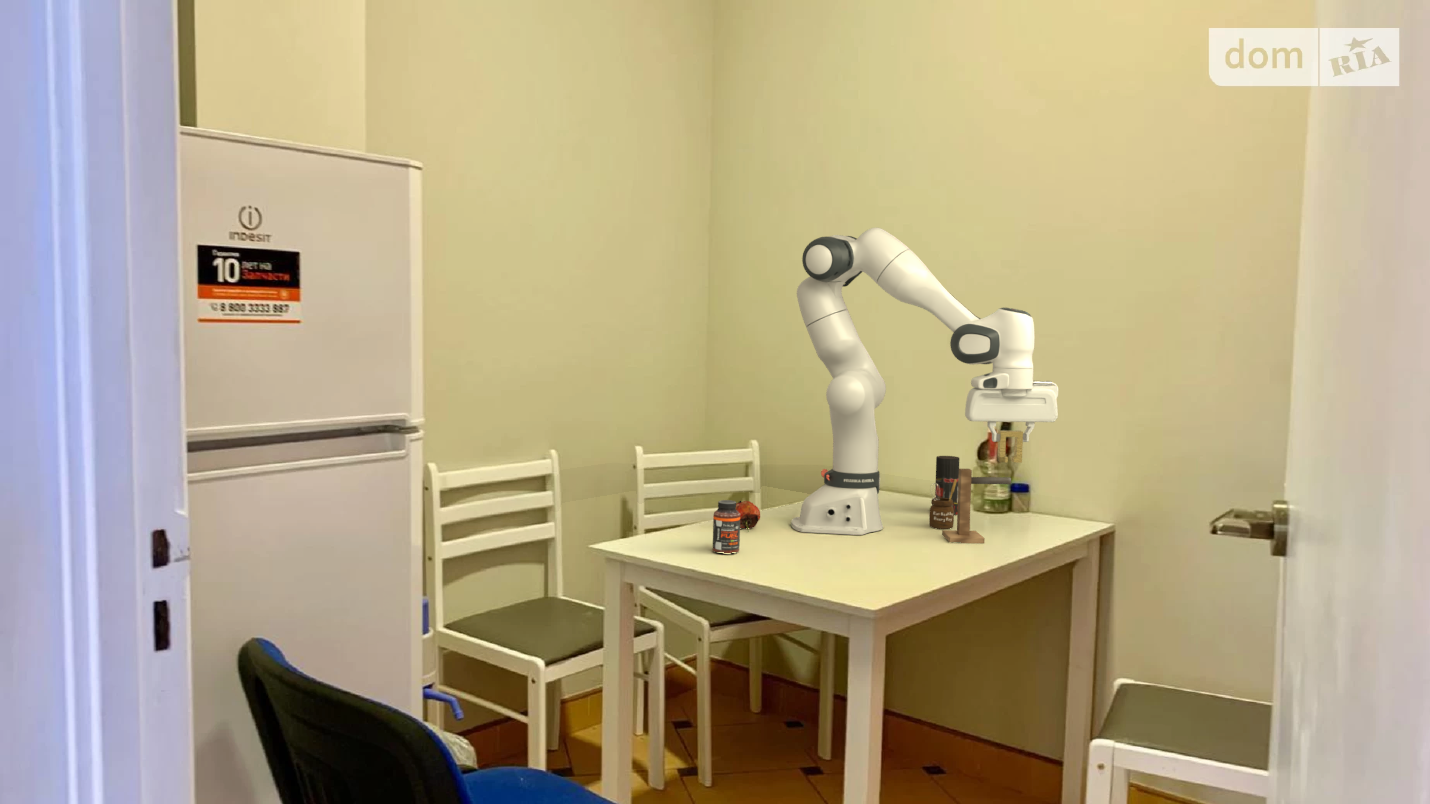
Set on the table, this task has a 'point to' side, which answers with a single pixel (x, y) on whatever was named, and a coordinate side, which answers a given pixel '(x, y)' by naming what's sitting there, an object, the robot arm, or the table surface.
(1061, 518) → the table surface
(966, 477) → the stand
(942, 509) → the utensil holder
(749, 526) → the pomegranate
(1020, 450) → the tan wooden arch piece
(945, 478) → the deodorant
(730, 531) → the supplement bottle
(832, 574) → the table surface
